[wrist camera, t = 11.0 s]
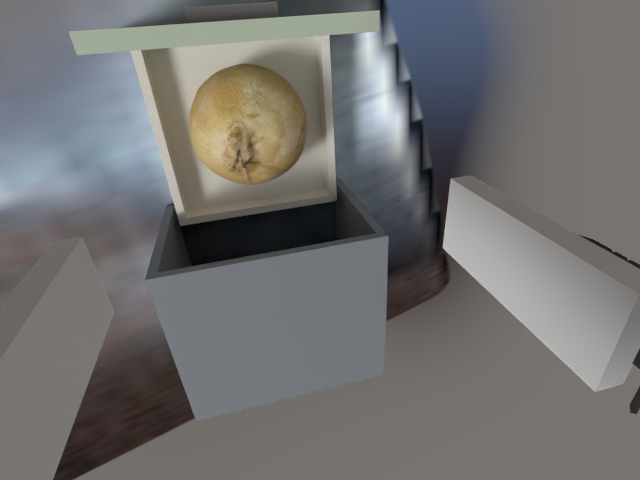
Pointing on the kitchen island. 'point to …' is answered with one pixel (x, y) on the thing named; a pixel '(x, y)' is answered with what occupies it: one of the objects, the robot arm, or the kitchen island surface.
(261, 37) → the drawer
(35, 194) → the kitchen island surface
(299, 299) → the box
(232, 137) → the onion
